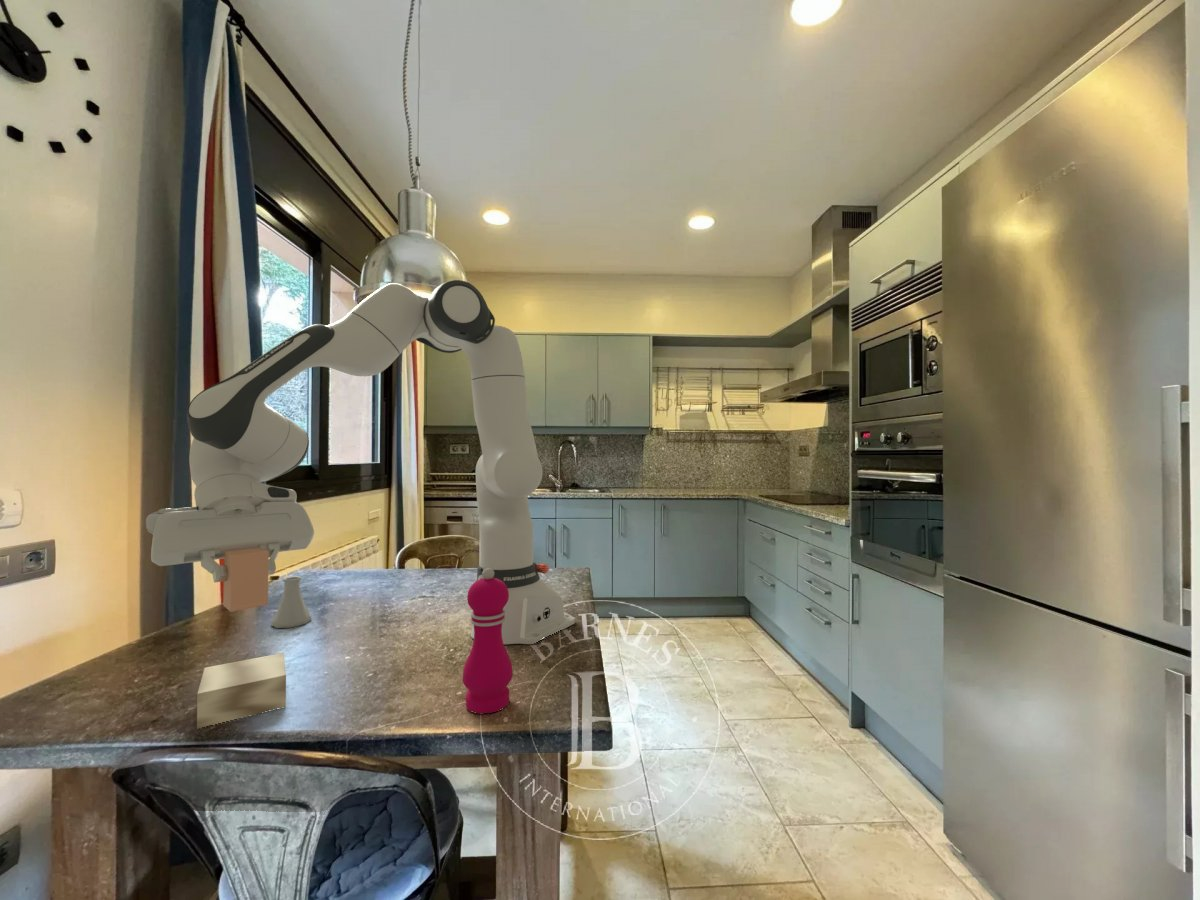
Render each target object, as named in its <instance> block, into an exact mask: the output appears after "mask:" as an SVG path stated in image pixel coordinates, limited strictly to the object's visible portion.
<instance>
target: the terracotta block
mask: <svg viewBox="0 0 1200 900" xmlns="http://www.w3.org/2000/svg"><path fill="white" fill-rule="evenodd" d="M269 559H270V557H269V551H267V550H265V549H263V548H251V549H242V550H233V551H224V559H223V565H227V571H228V578H227V581H223V596H222V597H223V601H222V602H223V604H222V605H223V607H224V608H225V609H227V611H229V612H230V613H231V612H232V613H233V612H239V611H243V610H248V609H254V608H259V607H264V606H265V607H266V606H268V603H269V575H268V560H269Z"/></svg>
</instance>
